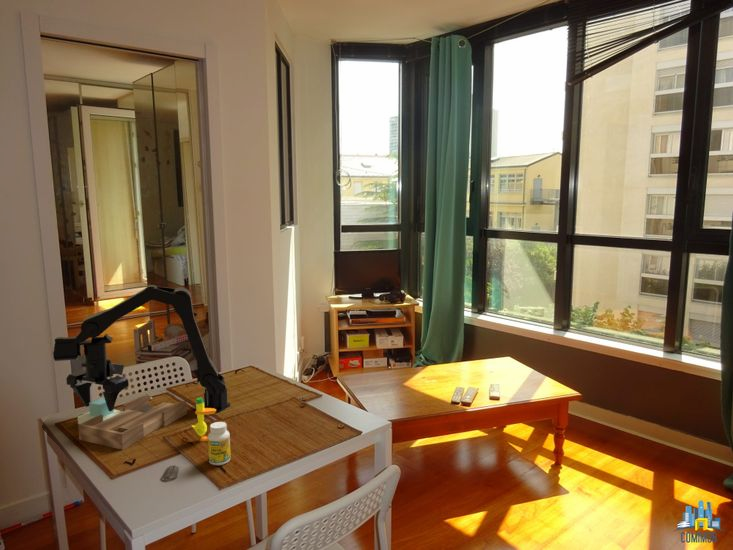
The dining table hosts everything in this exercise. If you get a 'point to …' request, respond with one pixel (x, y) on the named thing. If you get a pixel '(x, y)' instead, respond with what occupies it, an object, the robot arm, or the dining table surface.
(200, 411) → the toy figure
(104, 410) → the block
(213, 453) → the supplement bottle
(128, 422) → the box
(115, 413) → the board
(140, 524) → the dining table surface
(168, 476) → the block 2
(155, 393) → the dining table surface
